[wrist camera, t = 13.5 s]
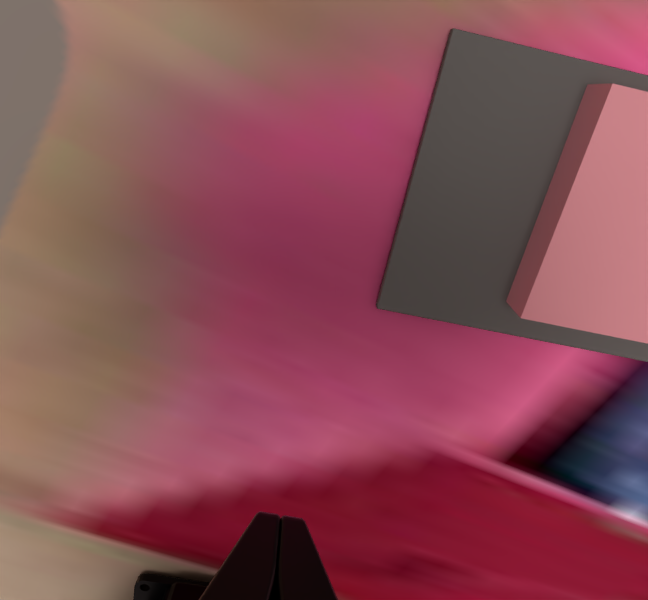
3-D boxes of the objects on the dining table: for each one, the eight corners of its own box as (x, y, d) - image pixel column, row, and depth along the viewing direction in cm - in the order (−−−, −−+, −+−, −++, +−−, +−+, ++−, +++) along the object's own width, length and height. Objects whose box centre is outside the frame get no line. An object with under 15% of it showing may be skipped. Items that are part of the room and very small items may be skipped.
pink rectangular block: (505, 301, 20) (671, 334, 20) (520, 317, 18) (698, 353, 19) (587, 84, 17) (778, 130, 17) (612, 83, 15) (820, 133, 16)
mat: (653, 359, 21) (659, 364, 21) (376, 304, 20) (377, 308, 20) (783, 110, 18) (792, 111, 17) (450, 29, 17) (453, 28, 16)
